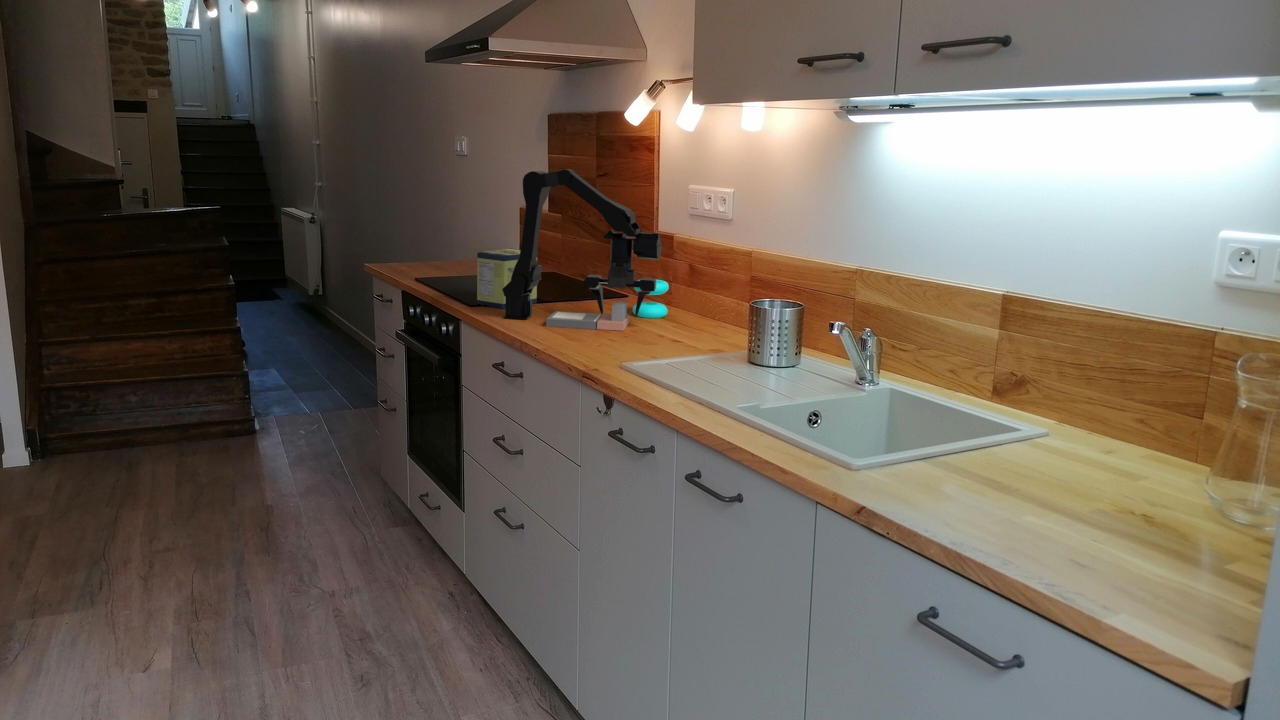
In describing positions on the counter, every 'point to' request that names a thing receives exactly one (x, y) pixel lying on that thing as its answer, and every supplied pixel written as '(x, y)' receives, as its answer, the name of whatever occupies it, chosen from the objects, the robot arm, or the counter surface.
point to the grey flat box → (573, 320)
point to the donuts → (652, 307)
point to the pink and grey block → (615, 318)
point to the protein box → (496, 276)
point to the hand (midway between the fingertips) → (619, 315)
